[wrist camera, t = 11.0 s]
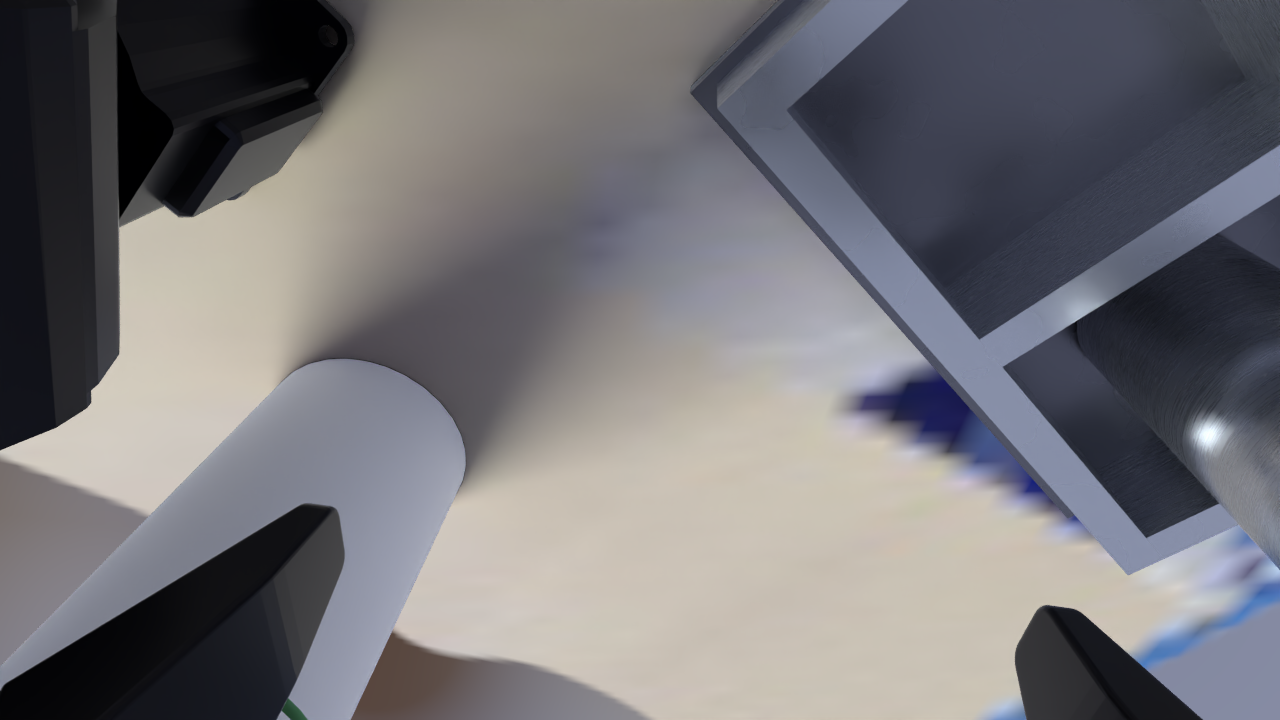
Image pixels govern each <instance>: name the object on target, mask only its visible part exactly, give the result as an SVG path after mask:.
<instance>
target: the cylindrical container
mask: <svg viewBox="0 0 1280 720" xmlns="http://www.w3.org/2000/svg"><path fill="white" fill-rule="evenodd" d="M465 468H466V456H465V448H464V444H463V441H462V437H461V434H460V432H459V430H458V428H457V426H456V424H455V422H454V420H453V418H452V417H451V416H450V415H449V413H448V412H447V411H446V409H445V408H444V407H443V405H442V404H441V403H440V402H439V401H438V400H437V399H436V398H435V397H434V396H433V395H431V394H430V393H429V392H428V391H427V390H426V389H425V388H424V387H422V386H421V385H419V384H417V383H416V382H414V381H413V380H411V379H410V378H408V377H407V376H405V375H403V374H401V373H399V372H396V371H394V370H392V369H390V368H388V367H385V366H381V365H378V364H375V363H371V362H368V361H361V360H353V359H327V360H323V361H319V362H315V363H310V364H308V365H306V366H304V367H302V368H300V369H298V370H296V371H294V372H292V373H291V374H290V375H289V376H288V377H287V378H286V379H284V380H283V381H282V382H281V383H280V384H279V385H278V386H277V387H276V388H275V389H274V390H273V391H272V392H271V393H270V394H269V395H268V396H267V397H266V398H265V399H264V400H263V401H262V402H261V403H260V404H259V405H258V406H257V407H256V408H255V409H254V410H253V411H252V412H251V413H250V414H249V415H248V417H247V418H246V419H245V420H244V421H243V422H242V423H241V424H240V425H239V426H238V427H237V428H236V429H235V430H234V431H233V432H232V433H231V434H230V435H229V436H228V437H227V438H226V439H225V440H224V441H223V442H222V443H221V444H220V445H219V446H218V447H217V448H216V449H215V450H214V451H213V452H212V453H211V454H210V455H209V456H208V457H207V458H206V459H205V460H204V461H203V462H202V463H201V464H200V465H199V466H198V467H197V468H196V469H195V470H194V471H193V472H192V473H191V474H190V475H189V476H188V477H187V478H186V479H185V480H184V481H183V482H182V483H181V484H180V485H179V486H178V487H177V488H176V490H175V491H174V492H173V493H172V494H171V495H170V496H169V497H168V498H167V499H166V500H165V501H164V502H163V503H162V504H161V505H160V506H159V507H158V508H157V509H156V510H155V511H154V512H153V513H152V514H151V515H150V516H149V517H148V518H147V519H146V520H145V521H144V522H143V523H142V524H141V525H140V526H139V527H138V528H137V529H136V530H135V531H134V532H133V533H132V534H131V535H130V536H129V537H128V538H127V539H126V540H125V541H124V542H123V543H122V544H121V545H120V546H119V547H118V548H117V549H116V550H115V551H114V552H113V553H112V554H111V555H110V556H109V557H108V558H107V559H106V560H105V561H104V562H103V563H102V564H101V565H100V566H99V567H98V568H97V569H96V570H95V571H94V572H93V573H92V574H91V575H90V576H89V577H88V578H87V579H86V580H85V581H84V582H83V584H82V585H80V586H79V587H78V588H77V589H76V590H75V591H74V593H73V594H71V595H70V597H69V598H68V599H67V600H66V601H65V602H64V603H63V604H62V605H61V606H60V607H59V608H58V609H57V610H56V611H55V612H54V613H53V614H52V615H51V616H50V617H49V618H48V619H47V620H46V621H45V622H44V623H43V624H42V625H41V626H40V627H39V628H38V629H37V630H36V631H35V632H34V633H33V634H32V635H31V636H30V637H29V638H28V639H27V640H26V641H25V642H24V643H23V644H22V645H21V646H20V647H19V648H18V649H17V650H16V651H15V652H14V653H13V654H12V655H11V656H10V657H9V658H8V659H7V660H6V661H5V662H4V663H3V664H2V665H1V666H0V691H1V689H2V687H3V685H4V684H5V683H7V682H8V681H10V680H12V679H13V678H15V677H17V676H18V675H20V674H22V673H23V672H25V671H27V670H28V669H30V668H32V667H33V666H35V665H36V664H38V663H40V662H41V661H43V660H45V659H46V658H48V657H50V656H51V655H53V654H55V653H56V652H58V651H60V650H61V649H63V648H65V647H66V646H68V645H69V644H71V643H73V642H74V641H76V640H78V639H79V638H81V637H83V636H84V635H86V634H88V633H89V632H91V631H93V630H94V629H96V628H98V627H99V626H101V625H102V624H104V623H106V622H107V621H109V620H111V619H112V618H114V617H116V616H117V615H119V614H121V613H122V612H124V611H126V610H127V609H129V608H130V607H132V606H134V605H135V604H137V603H139V602H140V601H142V600H144V599H145V598H147V597H149V596H150V595H152V594H154V593H155V592H157V591H159V590H160V589H162V588H163V587H165V586H167V585H168V584H170V583H172V582H173V581H175V580H177V579H178V578H180V577H182V576H183V575H185V574H187V573H188V572H190V571H192V570H193V569H195V568H196V567H198V566H200V565H201V564H203V563H205V562H206V561H208V560H210V559H211V558H213V557H215V556H216V555H218V554H220V553H221V552H223V551H225V550H226V549H228V548H229V547H231V546H233V545H234V544H236V543H238V542H239V541H241V540H243V539H244V538H246V537H248V536H249V535H251V534H253V533H254V532H256V531H258V530H259V529H261V528H262V527H264V526H266V525H267V524H269V523H271V522H272V521H274V520H276V519H277V518H279V517H281V516H282V515H284V514H286V513H287V512H289V511H290V510H292V509H294V508H295V507H297V506H299V505H301V504H304V503H312V504H320V505H327V506H332V507H334V508H336V509H337V511H338V513H339V516H340V523H341V529H342V536H343V542H344V549H345V560H344V565H343V569H342V572H341V574H340V577H339V579H338V582H337V584H336V586H335V589H334V591H333V594H332V596H331V599H330V601H329V604H328V606H327V609H326V611H325V614H324V616H323V619H322V621H321V624H320V626H319V629H318V631H317V633H316V636H315V638H314V641H313V643H312V646H311V648H310V651H309V653H308V656H307V658H306V661H305V663H304V665H303V668H302V670H301V672H300V675H299V677H298V679H297V681H296V683H295V685H294V687H293V689H292V691H291V693H290V695H289V697H288V699H287V701H286V703H285V705H284V707H283V709H282V711H281V713H280V714H279V716H278V718H277V720H350V719H351V717H352V715H353V713H354V711H355V709H356V707H357V704H358V702H359V700H360V698H361V696H362V694H363V692H364V690H365V687H366V685H367V683H368V681H369V679H370V677H371V674H372V673H373V670H374V668H375V666H376V664H377V662H378V660H379V658H380V655H381V653H382V651H383V649H384V647H385V645H386V643H387V640H388V638H389V636H390V634H391V632H392V630H393V628H394V626H395V623H396V621H397V619H398V617H399V615H400V613H401V611H402V609H403V606H404V604H405V602H406V600H407V598H408V596H409V594H410V592H411V589H412V587H413V585H414V583H415V581H416V579H417V577H418V574H419V572H420V570H421V568H422V566H423V564H424V562H425V560H426V557H427V555H428V553H429V551H430V549H431V547H432V545H433V542H434V540H435V538H436V536H437V534H438V532H439V530H440V528H441V525H442V523H443V521H444V519H445V517H446V515H447V513H448V511H449V508H450V506H451V504H452V502H453V500H454V498H455V496H456V493H457V491H458V489H459V487H460V485H461V483H462V481H463V477H464V472H465Z"/></svg>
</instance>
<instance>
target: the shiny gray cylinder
mask: <svg viewBox="0 0 1280 720" xmlns="http://www.w3.org/2000/svg"><path fill="white" fill-rule="evenodd" d="M1077 335H1078V341H1079V344H1080V346H1081V349H1082V351H1083V352H1084V354H1085V356H1086V357H1087V358H1088V359H1089V361H1090V362H1091V363H1092V364H1093V365H1094V366H1095V367H1096V368H1097V370H1098V371H1099V372H1100V373H1101V374H1102V375H1103V376H1104V377H1105V378H1106V379H1107V381H1108V382H1109V383H1110V384H1111V385H1112V386H1113V387H1114V388H1115V389H1116V390H1117V392H1118V393H1119V394H1120V395H1121V396H1122V397H1123V398H1124V399H1125V400H1126V401H1127V403H1128V404H1129V405H1130V406H1131V407H1132V408H1133V409H1134V410H1135V411H1136V412H1137V414H1138V415H1139V416H1140V417H1141V418H1142V419H1143V420H1144V421H1145V422H1146V423H1147V424H1148V426H1149V427H1150V428H1151V429H1152V430H1153V431H1154V432H1155V433H1156V434H1157V435H1158V437H1159V438H1160V439H1161V440H1162V441H1163V442H1164V443H1165V444H1166V445H1167V446H1168V448H1169V449H1170V450H1171V451H1172V452H1173V453H1174V454H1175V455H1176V456H1177V457H1178V459H1179V460H1180V461H1181V462H1182V463H1183V464H1184V465H1185V466H1186V467H1187V468H1188V470H1189V471H1190V472H1191V473H1192V474H1193V475H1194V476H1195V477H1196V478H1197V479H1198V481H1199V482H1200V483H1201V484H1202V485H1203V486H1204V487H1205V488H1206V489H1207V490H1208V492H1209V493H1210V494H1211V495H1212V496H1213V497H1214V498H1215V499H1216V500H1217V501H1218V503H1219V504H1220V505H1221V506H1222V507H1223V508H1224V509H1225V510H1226V511H1227V512H1228V513H1229V515H1230V516H1231V517H1232V518H1233V519H1234V520H1235V521H1236V522H1237V523H1238V524H1239V526H1240V527H1241V528H1242V529H1243V530H1244V531H1245V532H1246V533H1247V534H1248V535H1249V537H1250V538H1251V539H1252V540H1253V541H1254V542H1255V543H1256V544H1257V545H1258V546H1259V548H1260V549H1261V550H1262V551H1263V552H1264V553H1265V554H1266V555H1267V556H1268V557H1269V559H1270V560H1271V561H1272V562H1273V563H1274V564H1275V565H1276V566H1277V567H1278V568H1279V570H1280V268H1278V267H1276V266H1274V265H1273V264H1271V263H1269V262H1267V261H1266V260H1264V259H1262V258H1260V257H1259V256H1257V255H1255V254H1253V253H1252V252H1250V251H1248V250H1246V249H1245V248H1243V247H1241V246H1239V245H1237V244H1236V243H1234V242H1232V241H1230V240H1228V239H1225V238H1223V237H1219V236H1216V235H1214V236H1212V237H1211V238H1209V239H1207V240H1206V241H1204V242H1203V243H1201V244H1199V245H1198V246H1196V247H1195V248H1193V249H1191V250H1190V251H1188V252H1186V253H1185V254H1183V255H1182V256H1180V257H1178V258H1177V259H1175V260H1174V261H1172V262H1170V263H1169V264H1167V265H1166V266H1164V267H1162V268H1161V269H1159V270H1158V271H1156V272H1154V273H1153V274H1151V275H1149V276H1148V277H1146V278H1145V279H1143V280H1141V281H1140V282H1138V283H1137V284H1135V285H1133V286H1132V287H1130V288H1129V289H1127V290H1125V291H1124V292H1122V293H1121V294H1119V295H1117V296H1116V297H1114V298H1113V299H1111V300H1109V301H1108V302H1106V303H1104V304H1103V305H1101V306H1100V307H1098V308H1096V309H1095V310H1093V311H1092V312H1090V313H1088V314H1087V315H1085V316H1084V317H1082V318H1080V319H1079V320H1078V321H1077Z"/></svg>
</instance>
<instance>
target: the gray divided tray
mask: <svg viewBox="0 0 1280 720" xmlns="http://www.w3.org/2000/svg"><path fill="white" fill-rule="evenodd" d="M690 93H691V94H692V95H693V96H694V98H695V99H696V100H697V101H698V102H699V103H700V104H701V105H702V107H703V108H704V109H705V110H706V111H707V112H708V113H709V114H710V116H711V117H712V118H713V119H714V120H715V121H716V122H717V123H718V125H719V126H720V127H721V128H722V129H723V130H724V131H725V133H726V134H727V135H728V136H729V137H730V138H731V139H732V140H733V142H734V143H735V144H736V145H737V146H738V147H739V148H740V149H741V151H742V152H743V153H744V154H745V155H746V156H747V157H748V158H749V160H750V161H751V162H752V163H753V164H754V165H755V166H756V167H757V169H758V170H759V171H760V172H761V173H762V174H763V175H764V176H765V178H766V179H767V180H768V181H769V182H770V183H771V184H772V186H773V187H774V188H775V189H776V190H777V191H778V192H779V193H780V195H781V196H782V197H783V198H784V199H785V200H786V201H787V202H788V204H789V205H790V206H791V207H792V208H793V209H794V210H795V211H796V213H797V214H798V215H799V216H800V217H801V218H802V219H803V220H804V222H805V223H806V224H807V225H808V226H809V227H810V228H811V229H812V231H813V232H814V233H815V234H816V235H817V236H818V237H819V239H820V240H821V241H822V242H823V243H824V244H825V245H826V246H827V248H828V249H829V250H830V251H831V252H832V253H833V254H834V255H835V257H836V258H837V259H838V260H839V261H840V262H841V263H842V264H843V266H844V267H845V268H846V269H847V270H848V271H849V272H850V273H851V275H852V276H853V277H854V278H855V279H856V280H857V281H858V282H859V284H860V285H861V286H862V287H863V288H864V289H865V290H866V292H867V293H868V294H869V295H870V296H871V297H872V298H873V299H874V301H875V302H876V303H877V304H878V305H879V306H880V307H881V308H882V310H883V311H884V312H885V313H886V314H887V315H888V316H889V317H890V319H891V320H892V321H893V322H894V323H895V324H896V325H897V326H898V328H899V329H900V330H901V331H902V332H903V333H904V334H905V335H906V337H907V338H908V339H909V340H910V341H911V342H912V343H913V344H914V346H915V347H916V348H917V349H918V350H919V351H920V352H921V354H922V355H923V356H924V357H925V358H926V359H927V360H928V361H929V363H930V364H931V365H932V366H933V367H934V368H935V369H936V370H937V372H938V373H939V374H940V375H941V376H942V377H943V378H944V379H945V381H946V382H947V383H948V384H949V385H950V386H951V387H952V388H953V390H954V391H955V392H956V393H957V394H958V395H959V396H960V397H961V399H962V400H963V401H964V402H965V403H966V404H967V405H968V407H969V408H970V409H971V410H972V411H973V412H974V413H975V414H976V416H977V417H978V418H979V419H980V420H981V421H982V422H983V423H984V425H985V426H986V427H987V428H988V429H989V430H990V431H991V432H992V434H993V435H994V436H995V437H996V438H997V439H998V440H999V441H1000V443H1001V444H1002V445H1003V446H1004V447H1005V448H1006V449H1007V450H1008V452H1009V453H1010V454H1011V455H1012V456H1013V457H1014V458H1015V460H1016V461H1017V462H1018V463H1019V464H1020V465H1021V466H1022V467H1023V469H1024V470H1025V471H1026V472H1027V473H1028V474H1029V475H1030V476H1031V478H1032V479H1033V480H1034V481H1035V482H1036V483H1037V484H1038V485H1039V487H1040V488H1041V489H1042V490H1043V491H1044V492H1045V493H1046V494H1047V496H1048V497H1049V498H1050V499H1051V500H1052V501H1053V502H1054V503H1055V505H1056V506H1057V507H1058V508H1059V509H1060V510H1061V511H1062V513H1063V514H1064V515H1065V516H1066V517H1067V518H1069V517H1071V516H1073V515H1075V516H1076V517H1077V518H1078V519H1079V520H1080V521H1081V523H1082V524H1083V525H1084V526H1085V527H1086V528H1087V529H1088V531H1089V532H1090V533H1091V534H1092V535H1093V536H1094V537H1095V538H1096V540H1097V541H1098V542H1099V543H1100V544H1101V545H1102V546H1103V548H1104V549H1105V550H1106V551H1107V552H1108V553H1109V554H1110V556H1111V557H1112V558H1113V559H1114V560H1115V561H1116V562H1117V564H1118V565H1119V566H1120V567H1121V568H1122V569H1123V570H1124V571H1125V573H1126V574H1127V575H1130V574H1132V573H1134V572H1136V571H1139V570H1141V569H1143V568H1145V567H1147V566H1149V565H1152V564H1154V563H1156V562H1158V561H1160V560H1163V559H1165V558H1167V557H1169V556H1171V555H1173V554H1176V553H1178V552H1180V551H1182V550H1184V549H1187V548H1189V547H1191V546H1193V545H1195V544H1198V543H1200V542H1202V541H1204V540H1206V539H1208V538H1211V537H1213V536H1215V535H1217V534H1219V533H1222V532H1224V531H1226V530H1228V529H1230V528H1232V527H1235V526H1237V525H1239V524H1238V523H1237V522H1236V521H1235V520H1234V519H1233V518H1232V517H1231V516H1230V515H1229V513H1228V512H1227V511H1226V510H1225V509H1224V508H1223V507H1222V506H1221V505H1220V504H1219V503H1218V501H1217V500H1216V499H1215V498H1214V497H1213V496H1212V495H1211V494H1210V493H1209V492H1208V490H1207V489H1206V488H1205V487H1204V486H1203V485H1202V484H1201V483H1200V482H1199V481H1198V479H1197V478H1196V477H1195V476H1194V475H1193V474H1192V473H1191V472H1190V471H1189V470H1188V468H1187V467H1186V466H1185V465H1184V464H1183V463H1182V462H1181V461H1180V460H1179V459H1178V457H1177V456H1176V455H1175V454H1174V453H1173V452H1172V451H1171V450H1170V449H1169V448H1168V446H1167V445H1166V444H1165V443H1164V442H1163V441H1162V440H1161V439H1160V438H1159V437H1158V435H1157V434H1156V433H1155V432H1154V431H1153V430H1152V429H1151V428H1150V427H1149V426H1148V424H1147V423H1146V422H1145V421H1144V420H1143V419H1142V418H1141V417H1140V416H1139V415H1138V414H1137V412H1136V411H1135V410H1134V409H1133V408H1132V407H1131V406H1130V405H1129V404H1128V403H1127V401H1126V400H1125V399H1124V398H1123V397H1122V396H1121V395H1120V394H1119V393H1118V392H1117V390H1116V389H1115V388H1114V387H1113V386H1112V385H1111V384H1110V383H1109V382H1108V381H1107V379H1106V378H1105V377H1104V376H1103V375H1102V374H1101V373H1100V372H1099V371H1098V370H1097V368H1096V367H1095V366H1094V365H1093V364H1092V363H1091V362H1090V361H1089V359H1088V358H1087V357H1086V356H1085V354H1084V352H1083V351H1082V349H1081V346H1080V344H1079V341H1078V335H1077V321H1078V320H1079V319H1080V318H1082V317H1084V316H1085V315H1087V314H1088V313H1090V312H1092V311H1093V310H1095V309H1096V308H1098V307H1100V306H1101V305H1103V304H1104V303H1106V302H1108V301H1109V300H1111V299H1113V298H1114V297H1116V296H1117V295H1119V294H1121V293H1122V292H1124V291H1125V290H1127V289H1129V288H1130V287H1132V286H1133V285H1135V284H1137V283H1138V282H1140V281H1141V280H1143V279H1145V278H1146V277H1148V276H1149V275H1151V274H1153V273H1154V272H1156V271H1158V270H1159V269H1161V268H1162V267H1164V266H1166V265H1167V264H1169V263H1170V262H1172V261H1174V260H1175V259H1177V258H1178V257H1180V256H1182V255H1183V254H1185V253H1186V252H1188V251H1190V250H1191V249H1193V248H1195V247H1196V246H1198V245H1199V244H1201V243H1203V242H1204V241H1206V240H1207V239H1209V238H1211V237H1212V236H1214V235H1216V236H1219V237H1223V238H1225V239H1228V240H1230V241H1232V242H1234V243H1236V244H1237V245H1239V246H1241V247H1243V248H1245V249H1246V250H1248V251H1250V252H1252V253H1253V254H1255V255H1257V256H1259V257H1260V258H1262V259H1264V260H1266V261H1267V262H1269V263H1271V264H1273V265H1274V266H1276V267H1278V268H1280V0H778V1H777V2H776V3H775V4H774V5H773V6H772V7H771V8H770V9H769V10H768V11H767V12H766V13H765V14H764V15H763V16H762V17H761V18H760V19H759V20H758V21H757V22H756V23H755V24H754V25H753V26H752V27H751V28H750V29H749V30H748V31H747V32H746V33H745V34H744V35H742V36H741V37H740V38H739V39H738V40H737V41H736V42H735V43H734V44H733V45H732V46H731V47H730V48H729V49H728V50H727V51H726V52H725V53H724V54H723V55H722V56H721V57H720V58H719V59H718V60H717V61H716V62H715V63H714V64H713V65H712V66H711V67H710V68H709V69H708V70H707V71H706V72H705V73H704V74H703V75H702V76H701V77H700V78H699V79H698V80H697V81H696V82H695V83H694V84H693V85H692V86H691V91H690Z"/></svg>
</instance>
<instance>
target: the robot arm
mask: <svg viewBox="0 0 1280 720" xmlns="http://www.w3.org/2000/svg"><path fill="white" fill-rule="evenodd" d="M327 26H330V27H332V28H334V30H335V31H336V32H337V35H338V42H337V45H334V44H332V43H330V41H329V40H328V39H327V37H326V28H327ZM353 45H354V33H353V30H352V27H351V26H350V24H349V23H348V22H347V20H346V19H345V18H344V17H343V16H342V15H341V14H340V13H339V12H337V11H336V10H335V9H334V8H333V7H332V6H331V5H330V4H329V3H328V2H327V1H326V0H0V450H2V449H4V448H7V447H9V446H12V445H14V444H17V443H19V442H22V441H24V440H27V439H29V438H32V437H34V436H37V435H39V434H42V433H44V432H47V431H49V430H52V429H54V428H56V427H58V426H60V425H61V424H63V423H64V422H66V421H67V420H69V419H71V418H72V417H74V416H75V415H77V414H78V413H80V412H81V411H83V410H85V409H86V408H87V407H88V406H89V405H90V404H91V390H92V389H93V388H94V387H95V386H97V385H98V384H99V382H100V381H101V380H102V378H103V377H104V375H105V374H106V372H107V371H108V369H109V368H110V367H111V365H112V364H113V362H114V361H115V359H116V358H117V356H118V355H119V343H120V276H119V227H121V226H123V225H126V224H128V223H130V222H132V221H134V220H136V219H138V218H140V217H142V216H145V215H147V214H149V213H151V212H153V211H155V210H157V209H159V208H161V207H163V206H165V207H166V208H168V209H169V210H170V211H171V212H173V213H174V214H175V215H177V216H178V217H194V216H196V215H198V214H200V213H202V212H204V211H206V210H208V209H210V208H212V207H213V206H215V205H217V204H219V203H221V202H223V201H225V200H235V199H237V198H239V197H241V196H243V195H244V194H246V193H247V192H248V191H249V189H250V188H251V187H252V186H254V185H256V184H258V183H259V182H261V181H263V180H265V179H267V178H269V177H271V176H273V175H275V174H276V173H278V172H279V171H280V169H281V168H282V167H283V165H284V164H285V163H286V161H287V160H288V158H289V157H290V156H291V154H292V153H293V152H294V150H295V149H296V148H297V146H298V145H299V144H300V142H301V141H302V140H303V138H304V137H305V136H306V134H307V133H308V132H309V130H310V129H311V128H312V126H313V125H314V123H315V122H316V121H317V119H318V118H319V117H320V115H321V114H322V113H323V109H322V100H321V99H320V98H319V97H317V96H318V95H319V93H320V92H321V91H322V89H323V88H324V87H325V85H326V84H327V83H328V81H329V80H330V78H331V77H332V76H333V74H334V73H335V72H336V70H337V69H338V67H339V66H340V65H341V63H342V62H343V61H344V59H345V58H346V56H347V55H348V54H349V52H350V51H351V50H352V47H353ZM344 560H345V549H344V542H343V536H342V529H341V523H340V516H339V513H338V511H337V509H336V508H334V507H332V506H327V505H320V504H312V503H304V504H301V505H299V506H297V507H295V508H294V509H292V510H290V511H289V512H287V513H286V514H284V515H282V516H281V517H279V518H277V519H276V520H274V521H272V522H271V523H269V524H267V525H266V526H264V527H262V528H261V529H259V530H258V531H256V532H254V533H253V534H251V535H249V536H248V537H246V538H244V539H243V540H241V541H239V542H238V543H236V544H234V545H233V546H231V547H229V548H228V549H226V550H225V551H223V552H221V553H220V554H218V555H216V556H215V557H213V558H211V559H210V560H208V561H206V562H205V563H203V564H201V565H200V566H198V567H196V568H195V569H193V570H192V571H190V572H188V573H187V574H185V575H183V576H182V577H180V578H178V579H177V580H175V581H173V582H172V583H170V584H168V585H167V586H165V587H163V588H162V589H160V590H159V591H157V592H155V593H154V594H152V595H150V596H149V597H147V598H145V599H144V600H142V601H140V602H139V603H137V604H135V605H134V606H132V607H130V608H129V609H127V610H126V611H124V612H122V613H121V614H119V615H117V616H116V617H114V618H112V619H111V620H109V621H107V622H106V623H104V624H102V625H101V626H99V627H98V628H96V629H94V630H93V631H91V632H89V633H88V634H86V635H84V636H83V637H81V638H79V639H78V640H76V641H74V642H73V643H71V644H69V645H68V646H66V647H65V648H63V649H61V650H60V651H58V652H56V653H55V654H53V655H51V656H50V657H48V658H46V659H45V660H43V661H41V662H40V663H38V664H36V665H35V666H33V667H32V668H30V669H28V670H27V671H25V672H23V673H22V674H20V675H18V676H17V677H15V678H13V679H12V680H10V681H8V682H7V683H5V684H4V685H3V687H2V689H1V691H0V720H277V718H278V716H279V714H280V713H281V711H282V709H283V707H284V705H285V703H286V701H287V699H288V697H289V695H290V693H291V691H292V689H293V687H294V685H295V683H296V681H297V679H298V677H299V675H300V672H301V670H302V668H303V665H304V663H305V661H306V658H307V656H308V653H309V651H310V648H311V646H312V643H313V641H314V638H315V636H316V633H317V631H318V629H319V626H320V624H321V621H322V619H323V616H324V614H325V611H326V609H327V606H328V604H329V601H330V599H331V596H332V594H333V591H334V589H335V586H336V584H337V582H338V579H339V577H340V574H341V572H342V569H343V565H344ZM1015 666H1016V672H1017V676H1018V681H1019V686H1020V691H1021V696H1022V700H1023V705H1024V710H1025V715H1026V719H1027V720H1203V719H1201V718H1200V717H1199V716H1198V715H1197V714H1195V712H1194V711H1192V710H1191V709H1190V708H1189V707H1188V706H1187V705H1186V704H1184V703H1183V702H1182V701H1181V700H1180V699H1179V698H1178V697H1177V696H1175V695H1174V694H1173V693H1172V692H1171V691H1170V690H1169V689H1167V688H1166V687H1165V686H1164V685H1163V684H1162V683H1161V682H1160V681H1158V680H1157V679H1156V678H1155V677H1154V676H1153V675H1152V674H1150V673H1149V672H1148V671H1147V670H1146V669H1145V668H1144V667H1143V666H1141V665H1140V664H1139V663H1138V662H1137V661H1136V660H1135V659H1133V658H1132V657H1131V656H1130V655H1129V654H1128V653H1127V652H1125V651H1124V650H1123V649H1122V648H1121V647H1120V646H1119V645H1118V644H1116V643H1115V642H1114V641H1113V640H1112V639H1111V638H1110V637H1108V636H1107V635H1106V634H1105V633H1104V632H1103V631H1102V630H1101V629H1099V628H1098V627H1097V626H1096V625H1095V624H1094V623H1093V622H1091V621H1090V620H1089V619H1088V618H1087V617H1086V616H1085V615H1083V614H1082V613H1081V612H1079V611H1077V610H1075V609H1071V608H1064V607H1057V606H1050V605H1045V606H1042V607H1040V608H1039V609H1038V610H1037V611H1036V613H1035V614H1034V616H1033V618H1032V620H1031V621H1030V623H1029V625H1028V627H1027V629H1026V630H1025V632H1024V634H1023V636H1022V638H1021V639H1020V641H1019V643H1018V645H1017V648H1016V652H1015Z"/></svg>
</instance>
